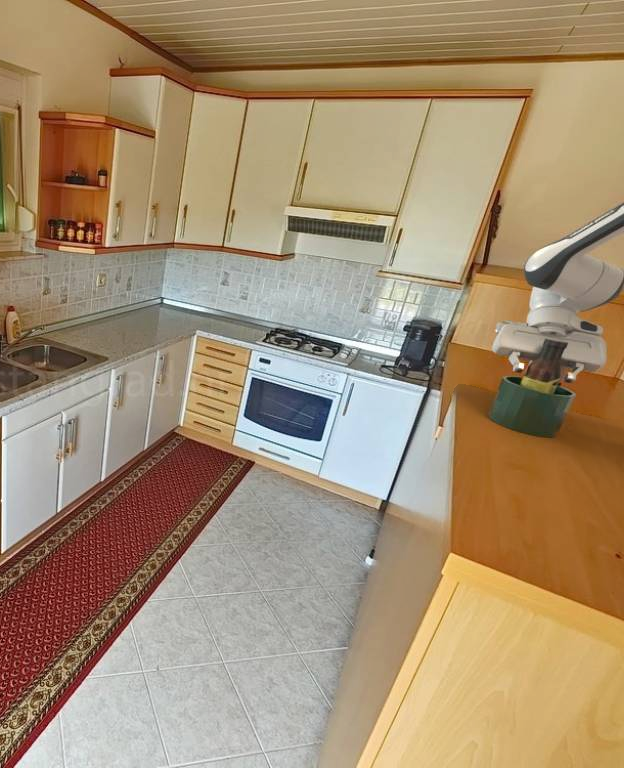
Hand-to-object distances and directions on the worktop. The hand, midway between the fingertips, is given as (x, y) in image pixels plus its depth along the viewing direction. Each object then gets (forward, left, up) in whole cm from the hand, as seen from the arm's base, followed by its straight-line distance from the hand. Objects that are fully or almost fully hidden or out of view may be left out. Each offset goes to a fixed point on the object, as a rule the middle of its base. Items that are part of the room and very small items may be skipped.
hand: (543, 376), depth 111 cm
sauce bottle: (0, -1, -12) cm, 12 cm away
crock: (0, -1, -12) cm, 13 cm away
